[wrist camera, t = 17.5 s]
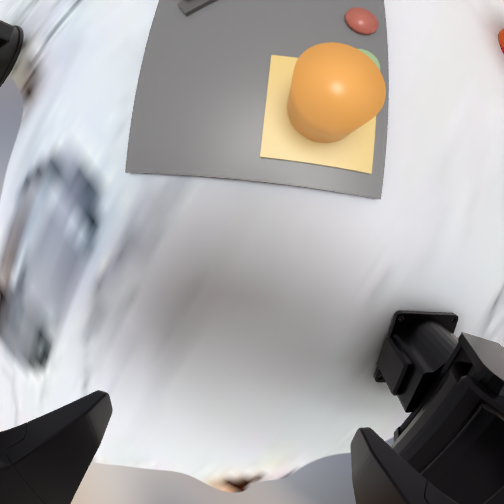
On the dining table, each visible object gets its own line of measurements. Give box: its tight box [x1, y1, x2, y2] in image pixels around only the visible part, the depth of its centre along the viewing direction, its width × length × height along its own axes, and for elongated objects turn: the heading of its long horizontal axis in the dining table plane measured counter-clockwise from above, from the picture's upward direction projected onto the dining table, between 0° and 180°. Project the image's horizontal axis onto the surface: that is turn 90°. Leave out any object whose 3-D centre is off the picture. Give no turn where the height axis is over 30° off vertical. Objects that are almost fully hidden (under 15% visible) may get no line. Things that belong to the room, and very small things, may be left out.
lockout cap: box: [287, 42, 386, 143], centre depth 13 cm, size 4×4×5 cm
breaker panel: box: [125, 0, 389, 199], centre depth 16 cm, size 17×18×1 cm
